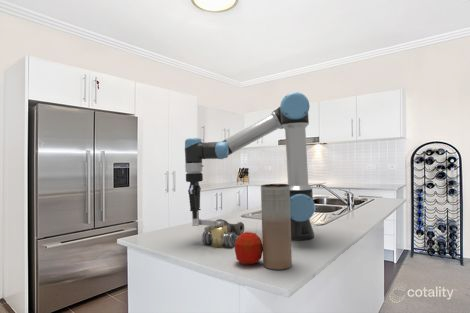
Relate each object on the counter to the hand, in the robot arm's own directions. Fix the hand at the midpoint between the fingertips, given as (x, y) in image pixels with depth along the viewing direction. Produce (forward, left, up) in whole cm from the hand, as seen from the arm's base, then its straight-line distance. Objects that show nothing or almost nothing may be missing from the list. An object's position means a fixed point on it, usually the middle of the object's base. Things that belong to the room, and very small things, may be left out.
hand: (195, 225), depth 131 cm
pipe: (-4, -19, -9) cm, 21 cm away
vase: (-42, +11, -8) cm, 44 cm away
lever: (-5, -2, 0) cm, 6 cm away
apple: (-32, +13, -8) cm, 35 cm away
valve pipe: (-11, -2, -8) cm, 14 cm away
